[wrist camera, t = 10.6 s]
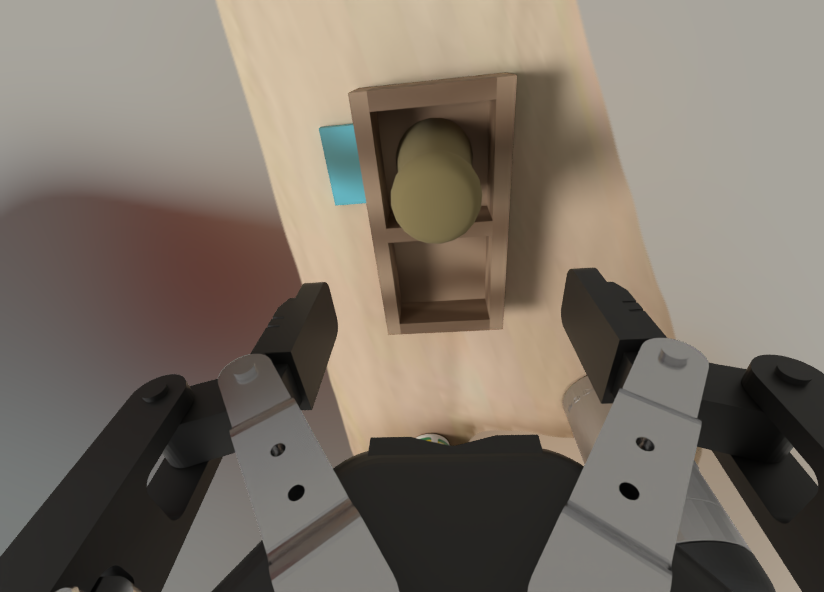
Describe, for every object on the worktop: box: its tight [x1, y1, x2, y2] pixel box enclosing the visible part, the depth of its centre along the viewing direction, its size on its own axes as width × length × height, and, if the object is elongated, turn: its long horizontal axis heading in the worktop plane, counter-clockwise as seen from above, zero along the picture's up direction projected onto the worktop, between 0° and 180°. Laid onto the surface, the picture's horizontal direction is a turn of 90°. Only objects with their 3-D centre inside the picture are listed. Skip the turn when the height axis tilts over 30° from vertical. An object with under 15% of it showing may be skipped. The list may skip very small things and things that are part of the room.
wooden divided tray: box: [319, 73, 517, 335], centre depth 30 cm, size 20×14×4 cm
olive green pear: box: [391, 118, 482, 244], centre depth 24 cm, size 6×6×11 cm
